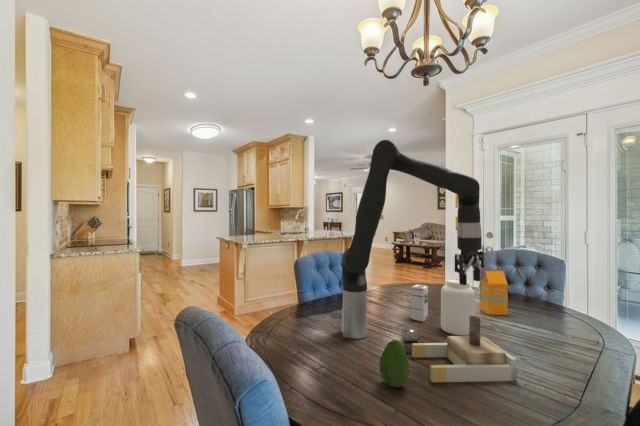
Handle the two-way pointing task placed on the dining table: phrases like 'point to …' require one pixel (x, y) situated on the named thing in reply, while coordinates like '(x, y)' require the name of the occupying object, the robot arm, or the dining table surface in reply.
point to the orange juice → (494, 293)
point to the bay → (464, 366)
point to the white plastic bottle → (457, 307)
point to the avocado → (394, 364)
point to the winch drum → (409, 339)
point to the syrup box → (419, 302)
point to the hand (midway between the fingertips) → (470, 282)
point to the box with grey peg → (473, 347)
